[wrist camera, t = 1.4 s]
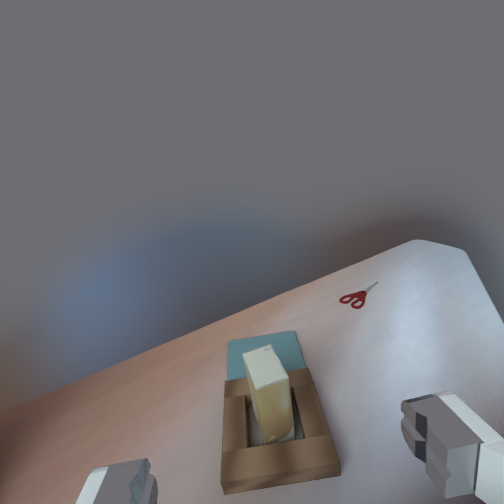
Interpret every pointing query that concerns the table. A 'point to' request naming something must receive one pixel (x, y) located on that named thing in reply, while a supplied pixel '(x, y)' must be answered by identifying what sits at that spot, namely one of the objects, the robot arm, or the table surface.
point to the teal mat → (281, 343)
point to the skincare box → (270, 395)
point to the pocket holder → (279, 454)
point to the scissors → (360, 296)
